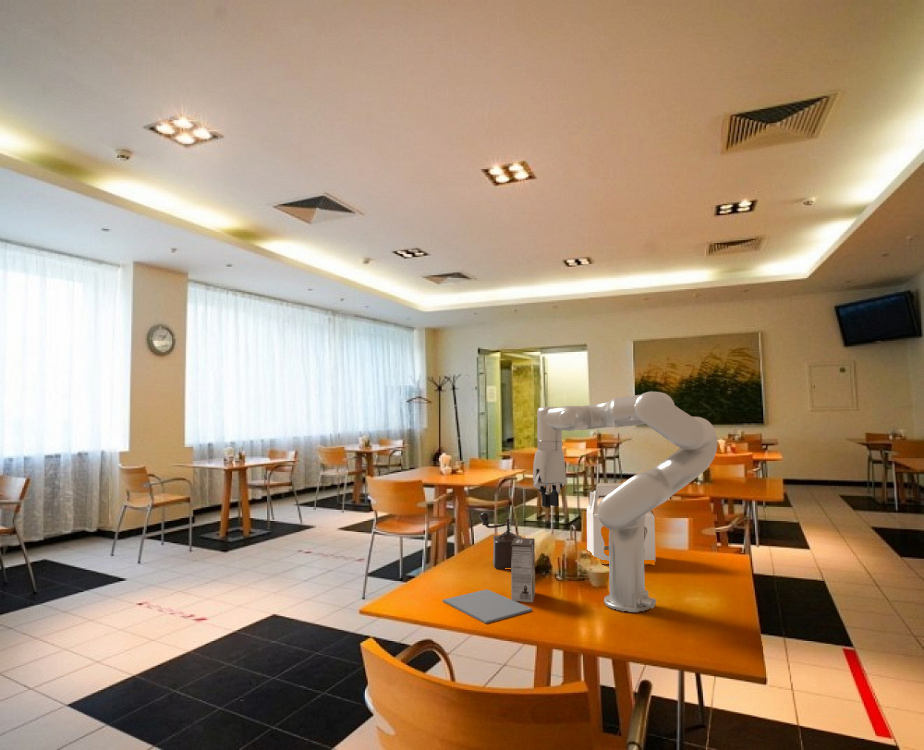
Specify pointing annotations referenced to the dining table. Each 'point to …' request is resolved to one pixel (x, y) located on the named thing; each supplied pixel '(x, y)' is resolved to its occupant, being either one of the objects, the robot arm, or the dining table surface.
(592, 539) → the gable box
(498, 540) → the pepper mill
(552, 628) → the dining table surface
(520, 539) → the coffee box
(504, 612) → the mat
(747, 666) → the dining table surface
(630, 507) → the robot arm
